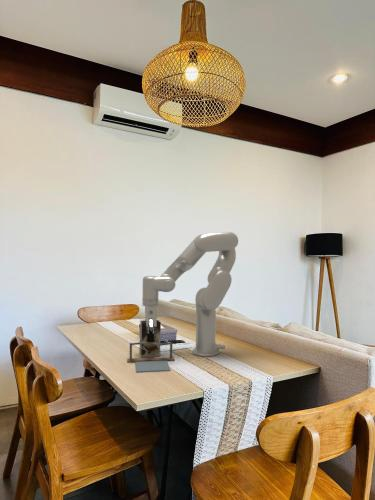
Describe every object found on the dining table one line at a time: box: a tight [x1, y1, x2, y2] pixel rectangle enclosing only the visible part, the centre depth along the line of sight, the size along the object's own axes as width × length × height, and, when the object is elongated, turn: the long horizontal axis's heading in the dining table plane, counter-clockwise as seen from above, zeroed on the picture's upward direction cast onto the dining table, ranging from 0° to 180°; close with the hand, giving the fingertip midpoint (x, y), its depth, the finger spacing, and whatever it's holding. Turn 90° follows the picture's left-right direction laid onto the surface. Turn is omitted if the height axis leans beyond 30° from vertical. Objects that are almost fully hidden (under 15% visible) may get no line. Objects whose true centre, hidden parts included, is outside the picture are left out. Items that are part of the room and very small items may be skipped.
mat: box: [135, 361, 171, 373], centre depth 146 cm, size 14×12×1 cm
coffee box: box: [138, 319, 162, 358], centre depth 163 cm, size 9×6×16 cm
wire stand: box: [126, 341, 176, 364], centre depth 154 cm, size 21×4×8 cm, turn 99°
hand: (149, 339), depth 163 cm, fingers open, 6 cm apart
